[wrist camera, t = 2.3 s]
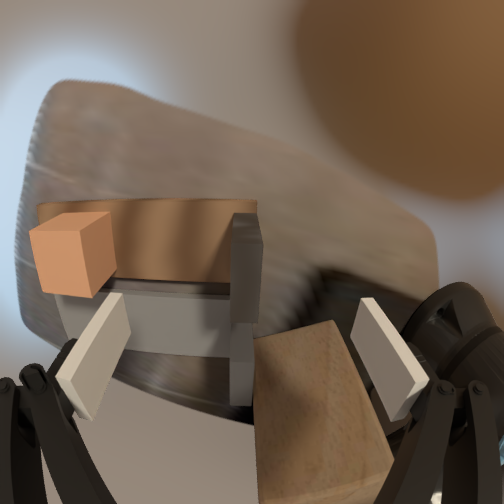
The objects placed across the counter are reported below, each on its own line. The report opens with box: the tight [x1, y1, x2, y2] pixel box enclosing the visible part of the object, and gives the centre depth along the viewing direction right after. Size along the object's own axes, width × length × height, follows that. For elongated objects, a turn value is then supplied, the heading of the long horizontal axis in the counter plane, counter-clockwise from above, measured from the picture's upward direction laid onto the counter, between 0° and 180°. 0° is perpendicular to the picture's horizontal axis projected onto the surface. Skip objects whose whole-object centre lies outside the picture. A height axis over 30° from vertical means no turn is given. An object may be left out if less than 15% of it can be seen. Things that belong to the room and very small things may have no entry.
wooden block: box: [253, 320, 394, 504], centre depth 24 cm, size 10×10×20 cm
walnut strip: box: [37, 198, 263, 323], centre depth 22 cm, size 24×8×9 cm, turn 87°
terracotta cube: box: [29, 212, 117, 298], centre depth 23 cm, size 6×6×6 cm
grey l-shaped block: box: [54, 288, 255, 406], centre depth 26 cm, size 24×8×9 cm, turn 87°
